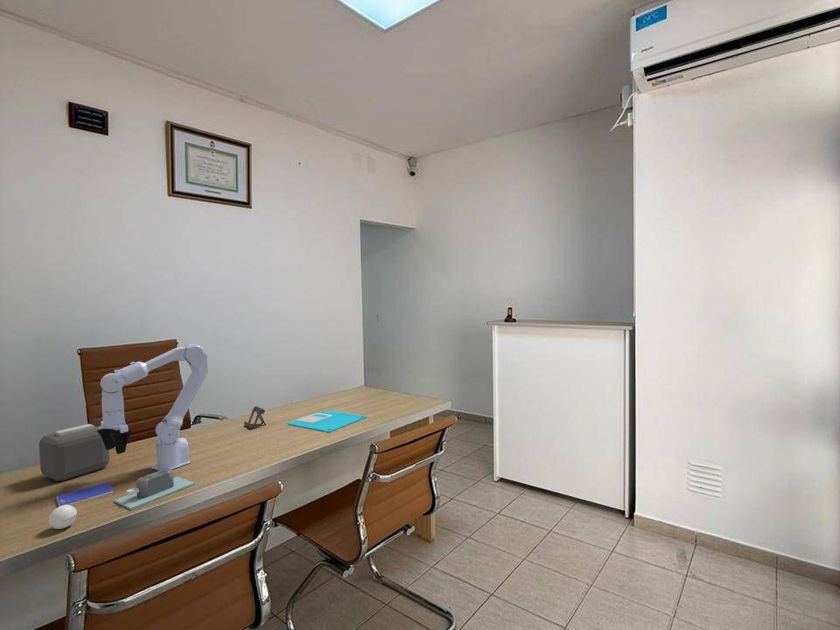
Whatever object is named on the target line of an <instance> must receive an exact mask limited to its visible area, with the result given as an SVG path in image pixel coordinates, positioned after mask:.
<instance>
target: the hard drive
mask: <svg viewBox="0 0 840 630" xmlns="http://www.w3.org/2000/svg"><path fill="white" fill-rule="evenodd" d="M112 493H114V489H113V487H112V486H111V484H110V483H109V482H106V483H102V484H97V485H94V486H90V487H86V488H83V489H78V490H74V491H71V492H66V493H63V494H60V495H56V501H57V504H58V507H60V506H63V505H70V506H72V505H75V504H78V503H82V502H85V501H88V500H91V499H95V498H99V497H102V496H106V495H109V494H112Z"/></svg>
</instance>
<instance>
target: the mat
mask: <svg viewBox="0 0 840 630" xmlns="http://www.w3.org/2000/svg"><path fill="white" fill-rule="evenodd" d="M173 479H174V486H173V487H172V488H170V489H167V490H165V491H162V492H160V493H157V494H154V495H152V496H149V497H146V498H137V493H135V494H133V495H127V494H126V495H124V496H121V497H119V498H115V499H114V500H113V501H114V503H116V504H117V505H120V506H122V507H124V508H126V509H128V510H130V511H133V510H135V509H138V508H140V507H142V506H145V505H147V504H150V503H152V502H155V501H158V500H160V499H163V498H166V497H168V496H170V495H173V494H176V493H178V492H181V491H183V490H185V489H188V488H190V487H193V486H195V484H196V482H194V481H192V480H189V479H185V478H183V477H180V476H175V477H173Z"/></svg>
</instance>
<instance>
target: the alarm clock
mask: <svg viewBox="0 0 840 630" xmlns="http://www.w3.org/2000/svg"><path fill="white" fill-rule="evenodd" d="M97 430H100V429H99V426H96V425H93V424H91V423H87V424H83V425H78V426H73V427H69V428H66V429H65V428H64V429H60V430H57V431H56V430H55V432H51V433H48V434H45V435H44V436H42V438H40V440H39V444H38V450H39V462H40V464H39V465H40V472H41V474H42V475H44V476H46V477H48V478H49V479H51V480H54V481H55V482H60V481H65V480H69V479H72V478H76V477H78V476H82V475H86V474H88V473H92V472H94V471H95V472H96V471H98V470H101V469H103V468H105V467H106V466H107V465H109V463H110V450H106V448H105V445H104V442H103V440H102V438H101V436H100V435H99V433H98V432H97Z"/></svg>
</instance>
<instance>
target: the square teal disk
mask: <svg viewBox="0 0 840 630" xmlns="http://www.w3.org/2000/svg"><path fill="white" fill-rule="evenodd" d="M365 419H368V416H367V415H364V414H363V415H362V414H356V413H351V412H350V413H349V412H343V411H336V410H330V409H329V410H320V411H319V412H315V413H312V414H310V415H306V416H303V417H300V418H297V419H295V420H291V421H288V422H286V424H288V426H291V425H292V427H296V426H297V427H298V428H301V427H302V429H306V430H307V429H308V430H313V431H317V432H324V433H329V434H330V433H333V432H336V431H338V430H340V429H343V428H345V427H348V426H350V425H352V424H355V423H357V422H359V421H363V420H365Z"/></svg>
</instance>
